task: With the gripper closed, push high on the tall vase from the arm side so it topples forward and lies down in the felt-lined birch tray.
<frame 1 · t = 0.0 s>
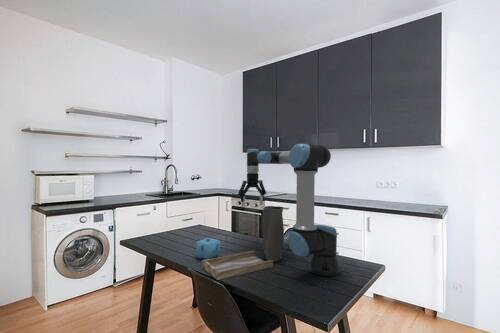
hand: (252, 205, 174), 28 cm above the table, fingers open, 13 cm apart
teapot: (208, 258, 157), on the table
grey cylinder: (276, 245, 183), on the table
vase: (272, 259, 155), on the table
tray: (238, 266, 143), on the table
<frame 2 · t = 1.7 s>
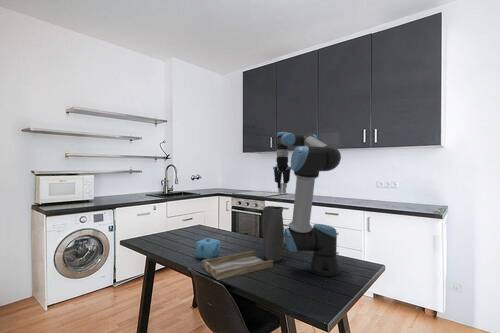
hand: (282, 193, 173), 37 cm above the table, fingers open, 3 cm apart
nothing on the table moved.
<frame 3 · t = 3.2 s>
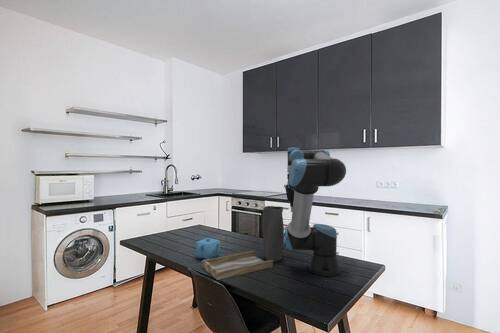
hand: (293, 212, 164), 26 cm above the table, fingers closed
nothing on the table moved.
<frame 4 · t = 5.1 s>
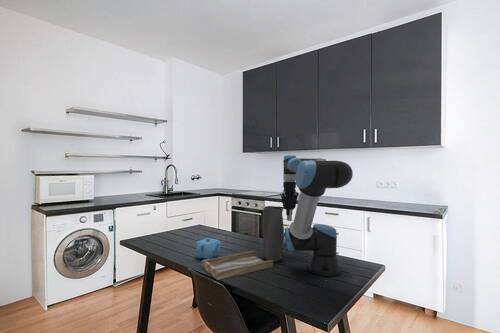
hand: (289, 220, 162), 21 cm above the table, fingers closed
nothing on the table moved.
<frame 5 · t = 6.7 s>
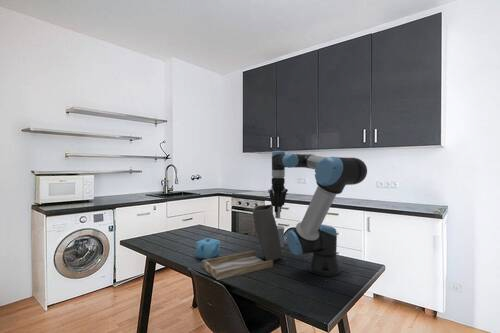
hand: (277, 217, 157), 24 cm above the table, fingers closed
vase: (272, 257, 155), point 1 cm above the table
everything else where it was.
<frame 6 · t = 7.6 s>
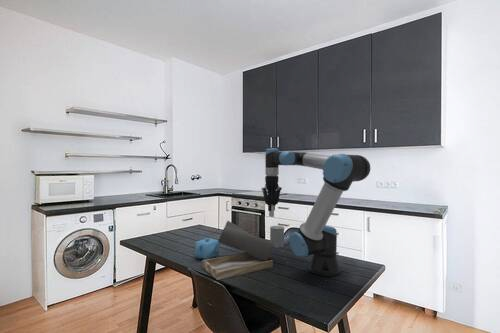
hand: (271, 216, 155), 25 cm above the table, fingers closed
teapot: (207, 258, 157), on the table, touching vase
vase: (270, 253, 154), point 4 cm above the table, touching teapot, tray
everything else where it was.
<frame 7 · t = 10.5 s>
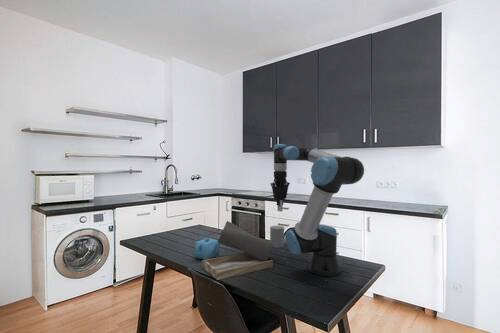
hand: (279, 211, 158), 27 cm above the table, fingers closed
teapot: (207, 258, 157), on the table
vase: (270, 253, 154), point 4 cm above the table, touching tray
everything else where it was.
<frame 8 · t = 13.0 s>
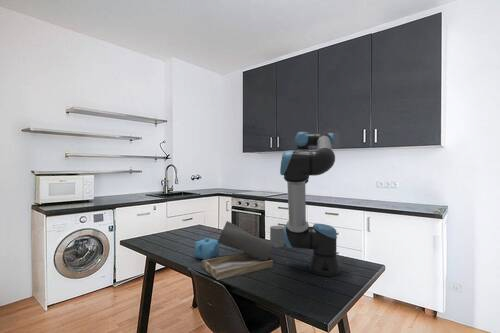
hand: (302, 193, 171), 36 cm above the table, fingers closed
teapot: (207, 258, 157), on the table, touching vase
vase: (270, 252, 154), point 4 cm above the table, touching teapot, tray
everything else where it was.
at the end: vase tilted 67°; vase inside the target area (8.6 cm from its centre), point 4.1 cm above the table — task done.
